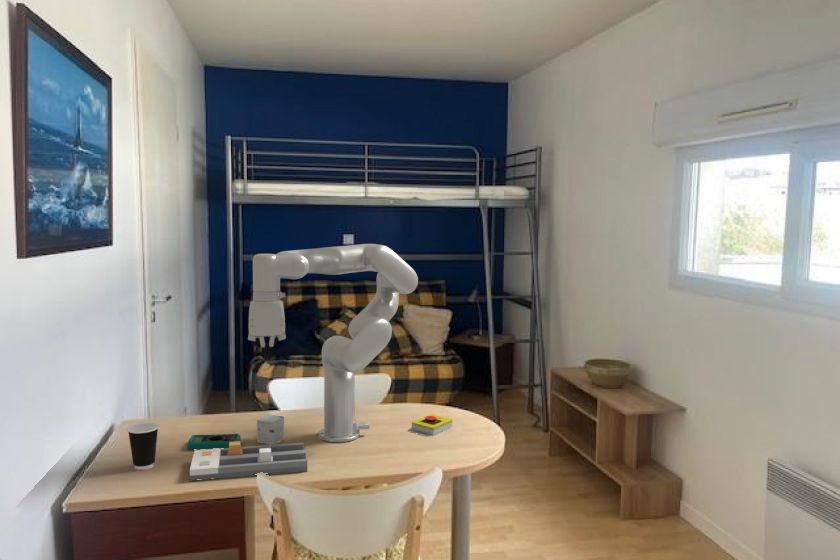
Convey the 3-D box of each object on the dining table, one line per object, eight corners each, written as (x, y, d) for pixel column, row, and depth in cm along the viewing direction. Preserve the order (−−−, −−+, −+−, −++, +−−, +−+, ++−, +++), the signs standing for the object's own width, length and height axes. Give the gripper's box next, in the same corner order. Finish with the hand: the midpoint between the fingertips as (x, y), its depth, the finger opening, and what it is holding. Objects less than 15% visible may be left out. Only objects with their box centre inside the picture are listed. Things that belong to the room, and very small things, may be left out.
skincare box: (256, 443, 193) (256, 419, 193) (267, 436, 199) (267, 413, 198) (274, 445, 191) (274, 421, 191) (284, 438, 197) (284, 415, 196)
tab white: (272, 460, 175) (272, 447, 175) (273, 465, 172) (272, 452, 171) (257, 461, 174) (257, 448, 174) (257, 466, 171) (257, 453, 170)
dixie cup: (166, 464, 176) (165, 425, 175) (141, 474, 169) (140, 434, 168) (146, 458, 180) (145, 420, 178) (121, 468, 173) (120, 428, 172)
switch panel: (303, 452, 186) (303, 441, 186) (307, 471, 172) (307, 459, 172) (194, 461, 178) (194, 449, 178) (190, 481, 165) (189, 469, 165)
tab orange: (242, 453, 180) (242, 440, 180) (242, 458, 176) (242, 445, 176) (227, 454, 179) (227, 441, 178) (227, 459, 175) (227, 446, 175)
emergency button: (407, 419, 206) (435, 408, 217) (407, 432, 206) (434, 421, 218) (430, 425, 200) (457, 414, 212) (430, 439, 200) (457, 426, 212)
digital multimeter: (239, 450, 189) (239, 440, 188) (186, 452, 186) (186, 442, 186) (242, 441, 196) (242, 432, 195) (191, 443, 193) (191, 433, 193)
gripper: (292, 294, 188) (292, 356, 190) (239, 295, 184) (240, 358, 186) (294, 298, 181) (294, 361, 183) (239, 299, 177) (240, 364, 179)
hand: (267, 359), depth 185 cm, fingers closed
